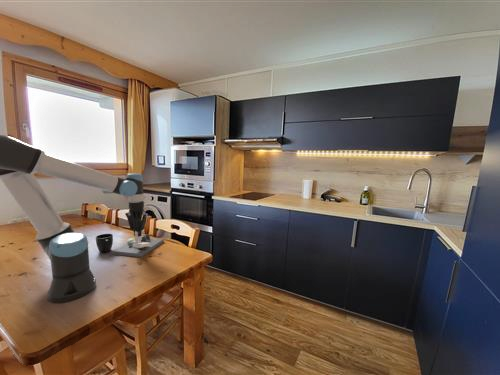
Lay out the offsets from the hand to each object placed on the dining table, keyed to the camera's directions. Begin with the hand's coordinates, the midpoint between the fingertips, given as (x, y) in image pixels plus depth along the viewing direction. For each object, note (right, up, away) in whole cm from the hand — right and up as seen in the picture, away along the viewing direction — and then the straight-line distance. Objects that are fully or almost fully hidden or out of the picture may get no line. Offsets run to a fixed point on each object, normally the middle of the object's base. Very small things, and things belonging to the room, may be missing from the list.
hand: (138, 241), depth 119 cm
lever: (-5, -3, +18) cm, 19 cm away
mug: (-21, -7, +4) cm, 23 cm away
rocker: (0, -3, +4) cm, 5 cm away
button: (-11, -4, +12) cm, 16 cm away
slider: (-5, -5, +8) cm, 11 cm away
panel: (-5, -7, +11) cm, 14 cm away
